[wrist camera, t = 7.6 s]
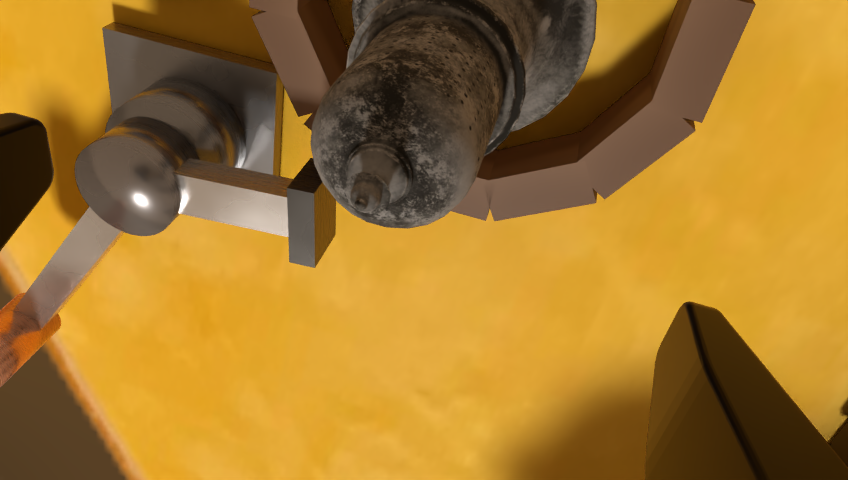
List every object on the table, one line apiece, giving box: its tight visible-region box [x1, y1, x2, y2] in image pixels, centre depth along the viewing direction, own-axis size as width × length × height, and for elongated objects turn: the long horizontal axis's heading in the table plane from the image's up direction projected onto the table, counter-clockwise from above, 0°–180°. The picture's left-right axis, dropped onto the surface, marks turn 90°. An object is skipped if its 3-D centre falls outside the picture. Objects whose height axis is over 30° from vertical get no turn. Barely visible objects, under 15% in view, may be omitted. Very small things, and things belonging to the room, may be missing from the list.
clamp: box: [0, 116, 336, 387], centre depth 23 cm, size 7×16×4 cm, turn 137°
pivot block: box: [102, 22, 284, 176], centre depth 23 cm, size 6×6×2 cm
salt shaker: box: [311, 0, 597, 228], centre depth 14 cm, size 6×6×12 cm
